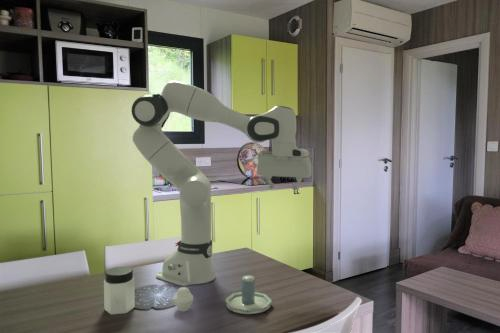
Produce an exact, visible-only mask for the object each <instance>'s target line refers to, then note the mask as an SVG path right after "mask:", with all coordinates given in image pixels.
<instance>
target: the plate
mask: <svg viewBox="0 0 500 333" xmlns="http://www.w3.org/2000/svg"><path fill="white" fill-rule="evenodd" d="M224 302H225V305H226V308H227V309H228V310H229V311H230V312H231V311H232V312H234V313H237V314H242V315H254V314H261V313H264V312H266V311H267V310H269V309H270V308H271V305H272V303H273V300H272V299H271V298H270V297H269V296H268V295H267V294H265V293H261V292H257V291H255V302H254V304H252V305H244V304H242V291H240V292H234V293H231V294H230V295H229V296H227V298H225V299H224Z"/></svg>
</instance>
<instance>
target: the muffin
mask: <svg viewBox="0 0 500 333" xmlns="http://www.w3.org/2000/svg"><path fill="white" fill-rule="evenodd" d="M172 300H173V303H174V305H175V307H176V309H177V310H178V311H179V312H186V311H188V310H189V309H190V307H191V305H192V303H193V301H194V295H193V294H192V293H191V291H190V289H189V287H187V286H182V287H179V288H178V289H177V291H176V293H175V295H173V298H172Z"/></svg>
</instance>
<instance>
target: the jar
mask: <svg viewBox="0 0 500 333" xmlns="http://www.w3.org/2000/svg"><path fill="white" fill-rule="evenodd" d="M135 287H136V286H135V278H134V269H133V268H132V267H129V266H115V267H112V268H109V269H106V270H105V272H104V280H103V297H104V298H103V304H104V305H103V306H104V311H106V312H107V313H108V314H110V315H120V314H121V315H123V314H127V313H129V312H130V311H131V310H133V309H134V308H135V306H136V305H135V303H136V302H135V301H136V298H135V297H136V295H135V293H136V292H135V291H136V290H135Z"/></svg>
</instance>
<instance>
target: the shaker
mask: <svg viewBox="0 0 500 333" xmlns="http://www.w3.org/2000/svg"><path fill="white" fill-rule="evenodd" d="M241 277H242V279H241V292H242V304H244V305H252V304H254V302H255V292H256V288H255V283H256V282H255V276H253V275H244V276H241Z"/></svg>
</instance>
